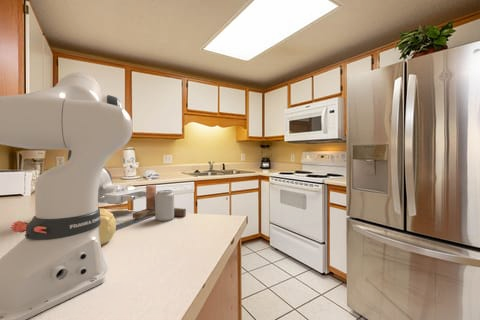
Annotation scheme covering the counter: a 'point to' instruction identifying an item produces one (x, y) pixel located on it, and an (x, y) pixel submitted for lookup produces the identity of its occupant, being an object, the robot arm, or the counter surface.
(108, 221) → the pale yellow rounded lump
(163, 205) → the can
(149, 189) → the brown wooden stand
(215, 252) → the counter surface
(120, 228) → the rail
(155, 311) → the counter surface
